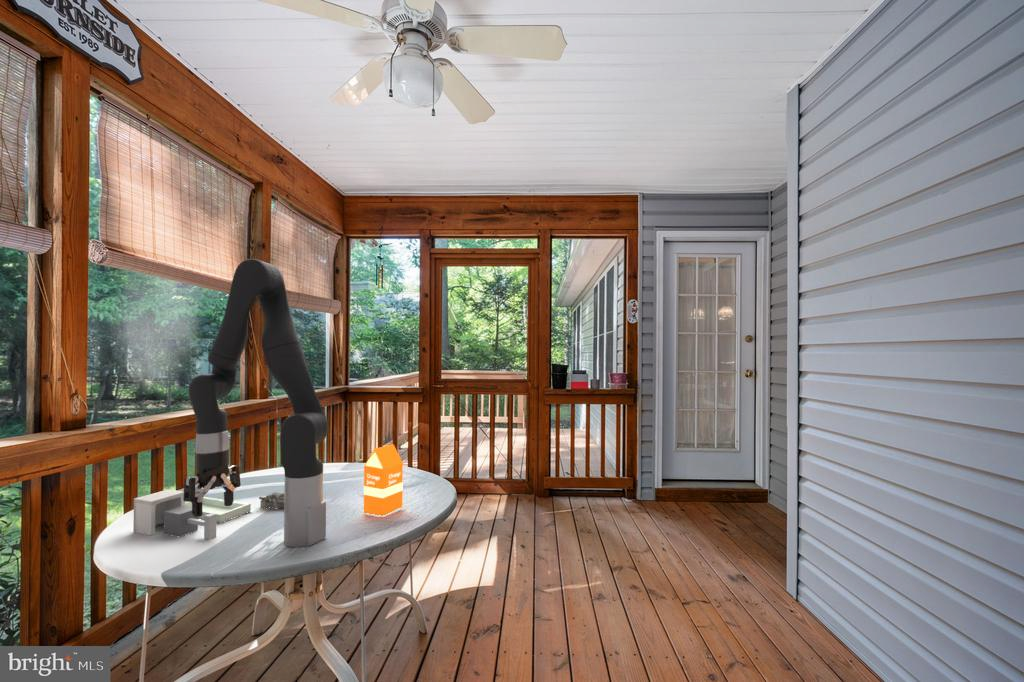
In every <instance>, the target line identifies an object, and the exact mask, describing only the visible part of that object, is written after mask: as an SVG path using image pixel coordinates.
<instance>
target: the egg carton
mask: <svg viewBox="0 0 1024 682" xmlns="http://www.w3.org/2000/svg"><path fill="white" fill-rule="evenodd" d="M258 499H259V500H260V505H259V507H260V509H262V508H263V509H262V510H267V509H266V508H268V509H270V508H269V507H273V508H272V509H274V508H278V509H280V508H279V507H284V492H282V493H280V492H276V491H275V492H272V493H270V494H267V495H265V496H264V497H263V496H259V497H258Z"/></svg>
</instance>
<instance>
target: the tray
mask: <svg viewBox="0 0 1024 682" xmlns="http://www.w3.org/2000/svg"><path fill="white" fill-rule="evenodd" d="M201 502H202V516H200V517H198V519H201V520H204V516H205V515H208V514H210V513H214V514H216V522H217V523H216V524H220V523H221V524H223V523H225V522H224V521H226V522H228V521H230V520H229V519H231V518H234V517H236V518H238V517H237V516H239V517H241V516H240V515H242V514H244V515H246V514H245V513H247V512H250V511H252V508H251V506H252V505H251V503H247V502H241V501H235V500H234V501H233V503H232V505H231V506H225V505H224V499H222V498H220V499H219V498H214V497H208V496H207V497H206V496H204V497H203V499H202V500H201ZM185 506H187V507H192V503H191V502H187V501H185ZM250 513H251V512H250ZM247 514H248V513H247ZM242 516H243V515H242ZM234 519H235V518H234ZM227 520H228V521H227ZM231 520H232V519H231ZM222 522H223V523H222Z"/></svg>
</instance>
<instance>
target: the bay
mask: <svg viewBox="0 0 1024 682" xmlns="http://www.w3.org/2000/svg"><path fill="white" fill-rule="evenodd" d="M183 497H184V491H181V490H175V489H170V488H169V489H165V490H160V491H158V492H155V493H150V494H146V495H142V496H140V497H139V496H138V497H135V498H133V529H132V530H133V533H135V534H136V533H137V534H142V535H146V534H147V535H146V536H154V535H155V534H156V526H155V525H157V526H159V524H160V525H162V523H163V524H164V511H168V510H171V509H174V508H177V507H180V506H185V502H186V501H184V500H183Z"/></svg>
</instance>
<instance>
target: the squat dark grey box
mask: <svg viewBox="0 0 1024 682" xmlns="http://www.w3.org/2000/svg"><path fill="white" fill-rule="evenodd" d="M199 526H203V527H204V528H203V538H204V539H205V540H211V539H214V538H216V537H217V523H216V514H214V513H210V514H208V515H205V516H204V520H199V519H198V517H195V516H194V515H193V514H192V507H187V506H180V507H177V508H174V509H171V510H168V511H164V523H163V535H166V534H167V536H171V535H173V537H177V536H179V537H178V538H181V537H183V536H182V535H184V536H186V535H188V533H189V534H191V532H192V533H194V532H197V531H198V530H199ZM196 530H197V531H196ZM185 534H186V535H185ZM180 536H181V537H180Z"/></svg>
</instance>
